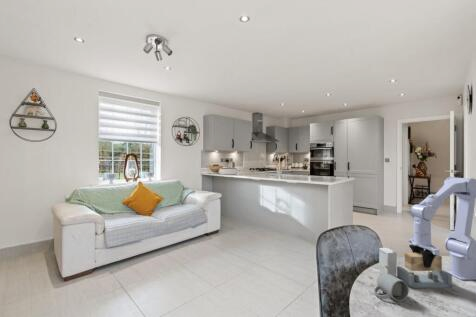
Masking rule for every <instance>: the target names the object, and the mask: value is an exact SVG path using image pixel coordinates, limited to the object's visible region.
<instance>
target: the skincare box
mask: <svg viewBox="0 0 476 317" xmlns="http://www.w3.org/2000/svg"><path fill="white" fill-rule="evenodd" d="M378 251H379V252H378V253H379V254H378V273H379V276H380V275H381V274H383V273H387V274H390V275H392V276H394V277H396V278H397V259H398V258H397V256H398V254H397V252H396V251H394V250H392V249H390V248H389V247H379V249H378Z"/></svg>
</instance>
